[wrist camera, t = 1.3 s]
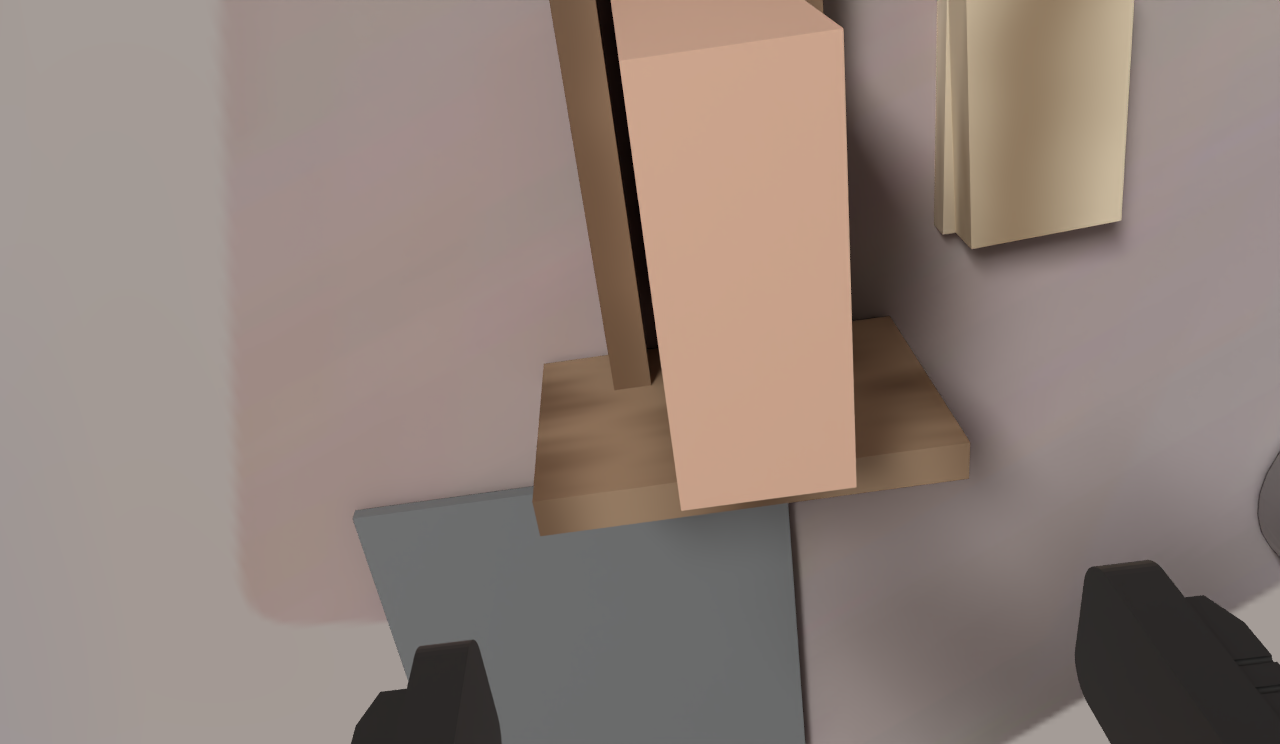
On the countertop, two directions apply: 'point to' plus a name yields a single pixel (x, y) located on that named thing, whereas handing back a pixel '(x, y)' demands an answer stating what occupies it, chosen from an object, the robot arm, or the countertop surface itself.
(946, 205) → the cream folded flat block
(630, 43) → the salmon pink block
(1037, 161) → the offcut upper
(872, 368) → the rack
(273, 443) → the countertop surface
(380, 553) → the mat
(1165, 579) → the robot arm
